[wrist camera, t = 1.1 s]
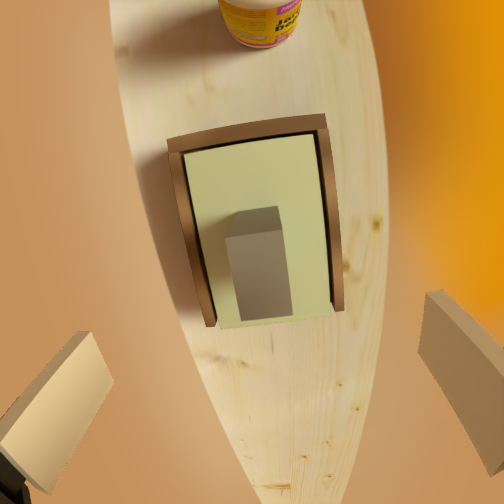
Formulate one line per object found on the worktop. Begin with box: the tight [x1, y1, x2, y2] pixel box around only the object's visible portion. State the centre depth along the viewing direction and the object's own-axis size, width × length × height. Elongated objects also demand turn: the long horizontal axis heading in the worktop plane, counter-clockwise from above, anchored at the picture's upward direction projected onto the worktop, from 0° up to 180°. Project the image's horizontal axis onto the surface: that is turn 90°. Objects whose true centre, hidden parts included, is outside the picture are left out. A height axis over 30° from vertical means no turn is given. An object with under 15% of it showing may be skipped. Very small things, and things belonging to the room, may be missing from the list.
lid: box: [184, 134, 331, 329], centre depth 20 cm, size 15×10×9 cm, turn 9°
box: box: [167, 113, 344, 327], centre depth 25 cm, size 16×12×6 cm
